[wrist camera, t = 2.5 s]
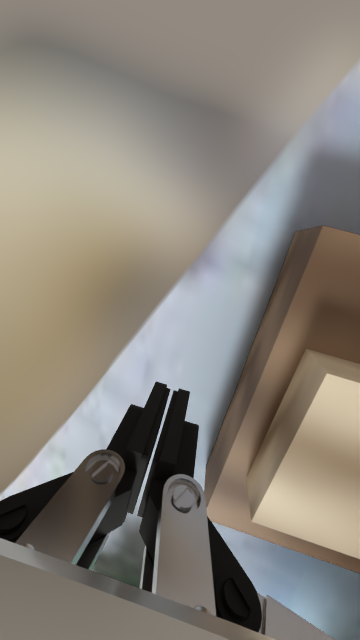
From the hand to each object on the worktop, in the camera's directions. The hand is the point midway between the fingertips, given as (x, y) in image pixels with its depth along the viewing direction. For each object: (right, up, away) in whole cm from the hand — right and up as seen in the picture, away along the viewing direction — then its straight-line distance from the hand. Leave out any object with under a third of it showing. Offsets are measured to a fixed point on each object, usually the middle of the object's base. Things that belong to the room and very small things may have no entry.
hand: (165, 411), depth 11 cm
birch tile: (+9, -2, +2) cm, 10 cm away
